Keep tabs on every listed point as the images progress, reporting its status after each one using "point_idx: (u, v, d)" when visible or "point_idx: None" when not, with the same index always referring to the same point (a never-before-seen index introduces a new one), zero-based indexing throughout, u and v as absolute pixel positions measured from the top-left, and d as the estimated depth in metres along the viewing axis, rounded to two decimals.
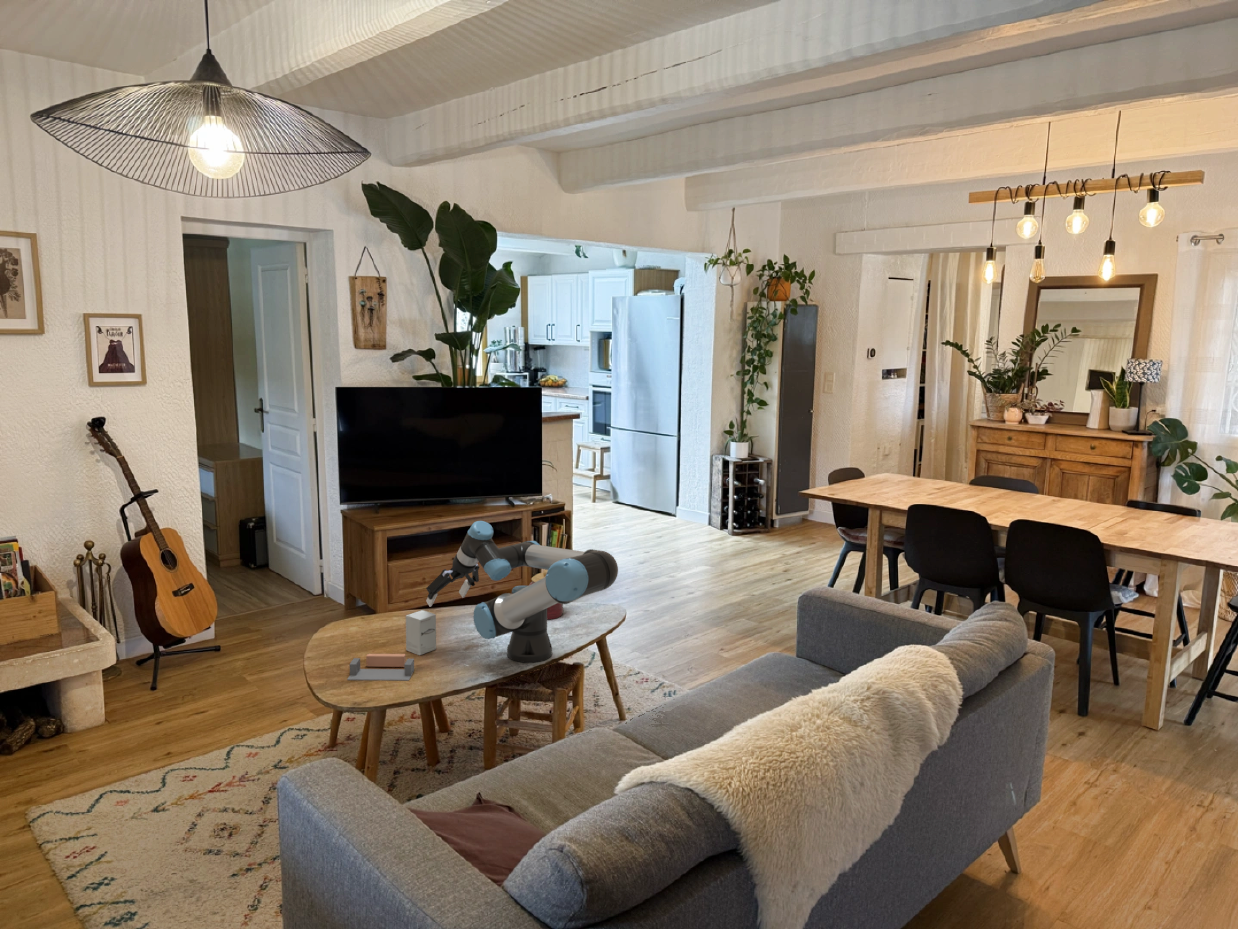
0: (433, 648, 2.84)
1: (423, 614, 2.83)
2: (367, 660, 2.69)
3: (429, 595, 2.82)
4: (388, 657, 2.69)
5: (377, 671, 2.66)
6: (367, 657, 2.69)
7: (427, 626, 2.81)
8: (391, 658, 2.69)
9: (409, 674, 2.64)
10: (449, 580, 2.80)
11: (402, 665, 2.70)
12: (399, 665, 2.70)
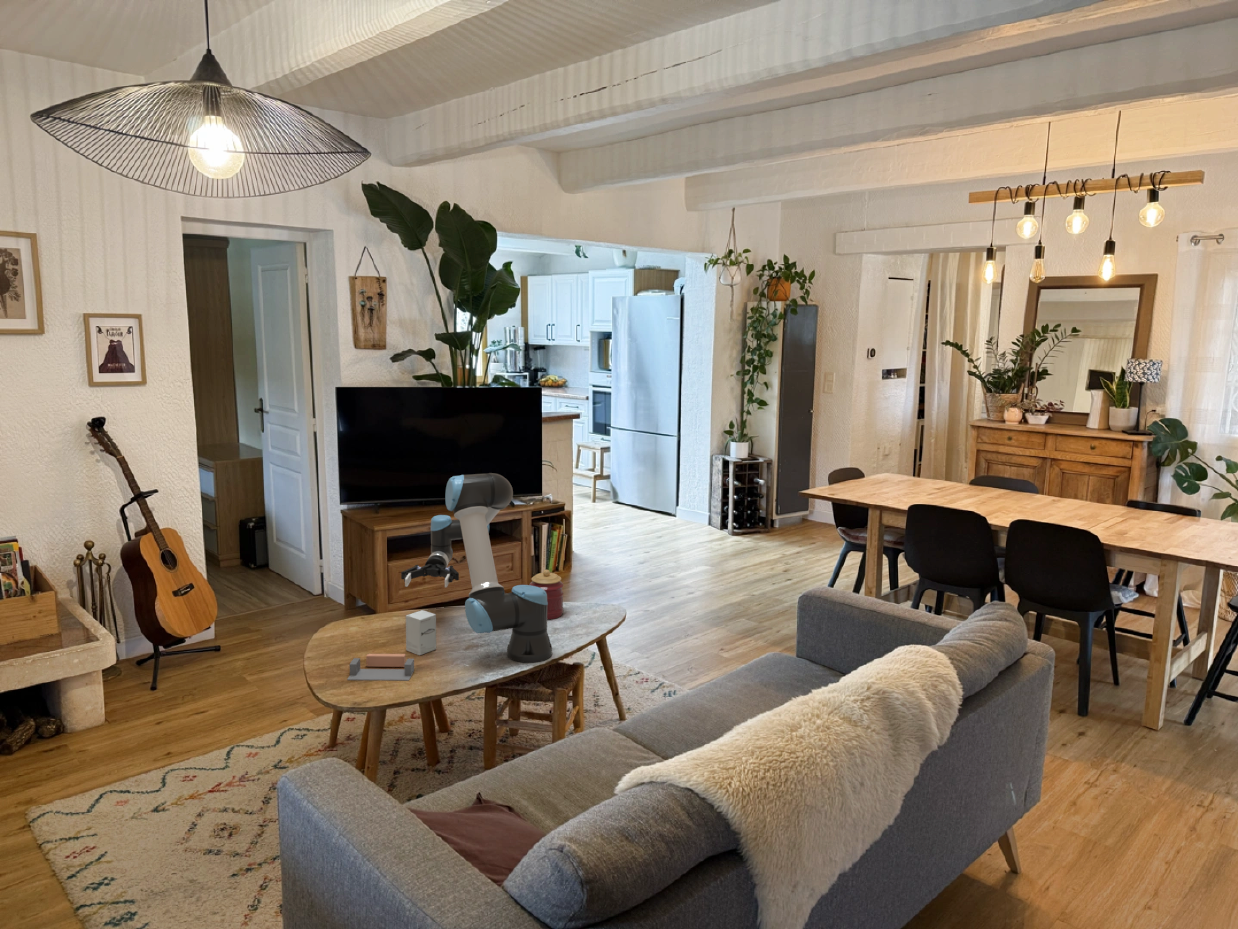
0: (433, 648, 2.84)
1: (423, 614, 2.83)
2: (367, 660, 2.69)
3: None
4: (388, 657, 2.69)
5: (377, 671, 2.66)
6: (367, 657, 2.69)
7: (427, 626, 2.81)
8: (391, 658, 2.69)
9: (409, 674, 2.64)
10: None
11: (402, 665, 2.70)
12: (399, 665, 2.70)
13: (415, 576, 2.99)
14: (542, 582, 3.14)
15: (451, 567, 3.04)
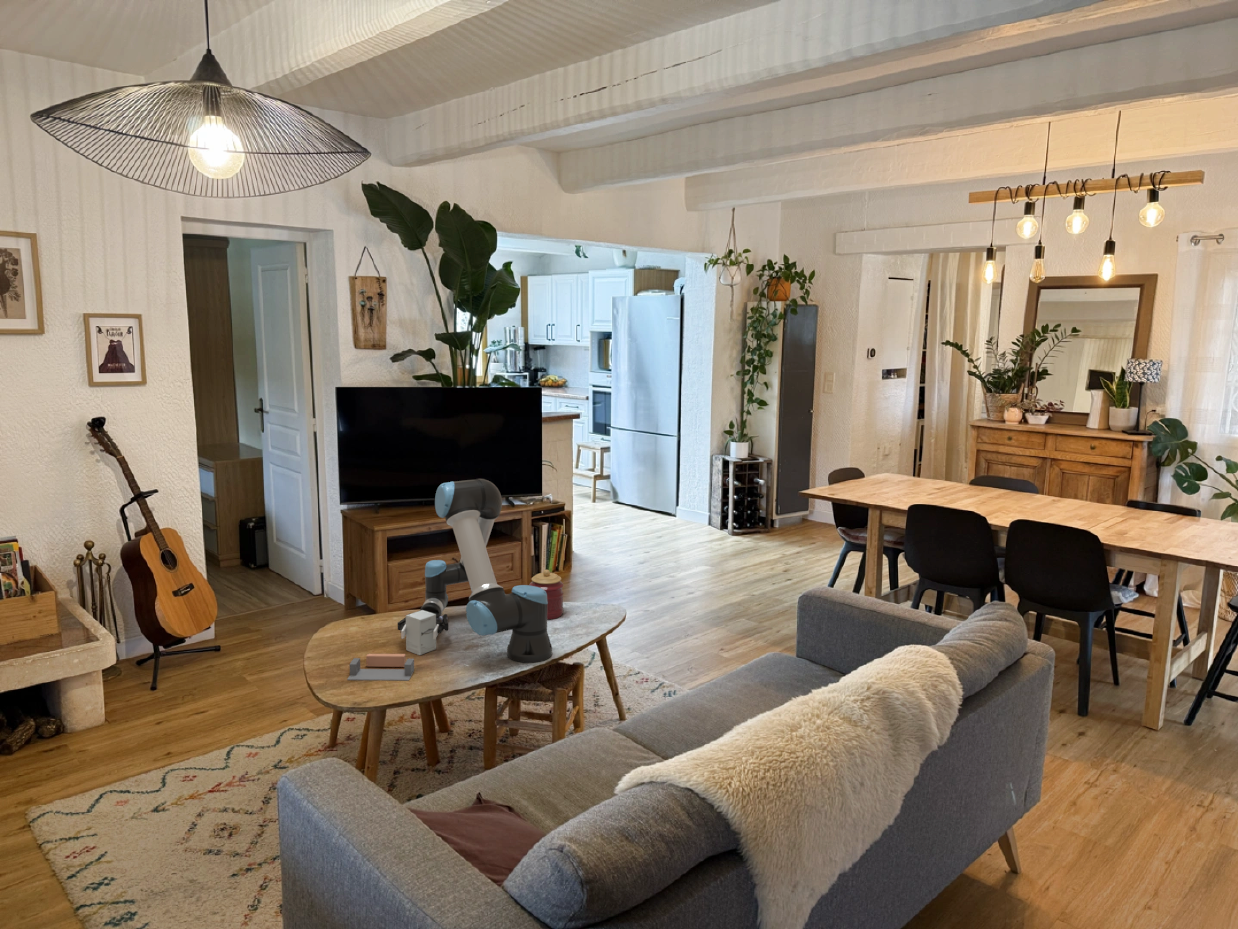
0: (433, 648, 2.84)
1: (423, 614, 2.83)
2: (367, 660, 2.69)
3: None
4: (388, 657, 2.69)
5: (377, 671, 2.66)
6: (367, 657, 2.69)
7: (427, 625, 2.81)
8: (391, 658, 2.69)
9: (409, 674, 2.64)
10: None
11: (402, 665, 2.70)
12: (399, 665, 2.70)
13: None
14: (542, 582, 3.14)
15: (444, 616, 2.94)
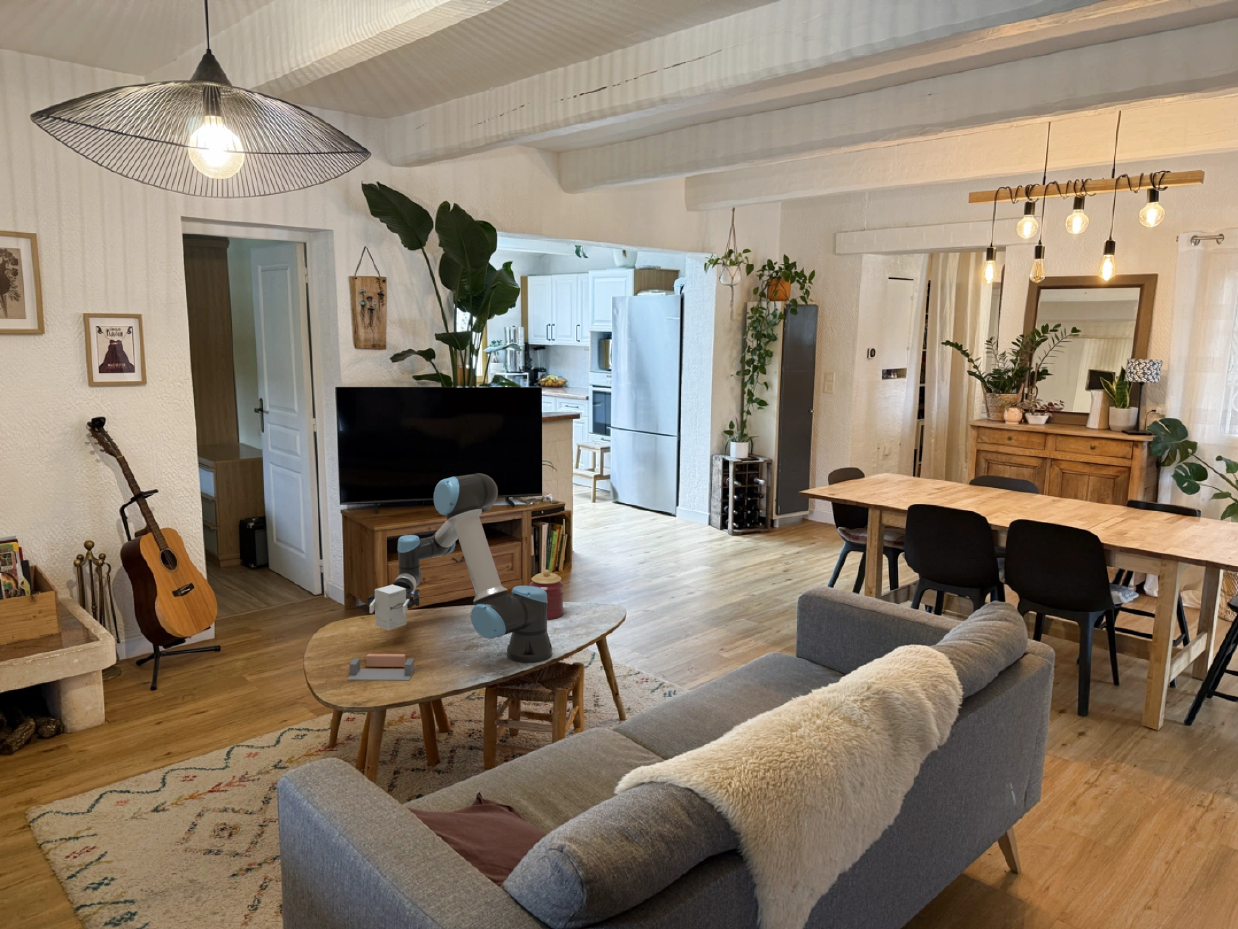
0: (403, 623, 2.76)
1: (392, 588, 2.75)
2: (367, 660, 2.69)
3: None
4: (388, 657, 2.69)
5: (377, 671, 2.66)
6: (367, 657, 2.69)
7: (396, 600, 2.73)
8: (391, 658, 2.69)
9: (409, 674, 2.64)
10: None
11: (402, 665, 2.70)
12: (399, 665, 2.70)
13: None
14: (542, 582, 3.14)
15: (416, 591, 2.86)
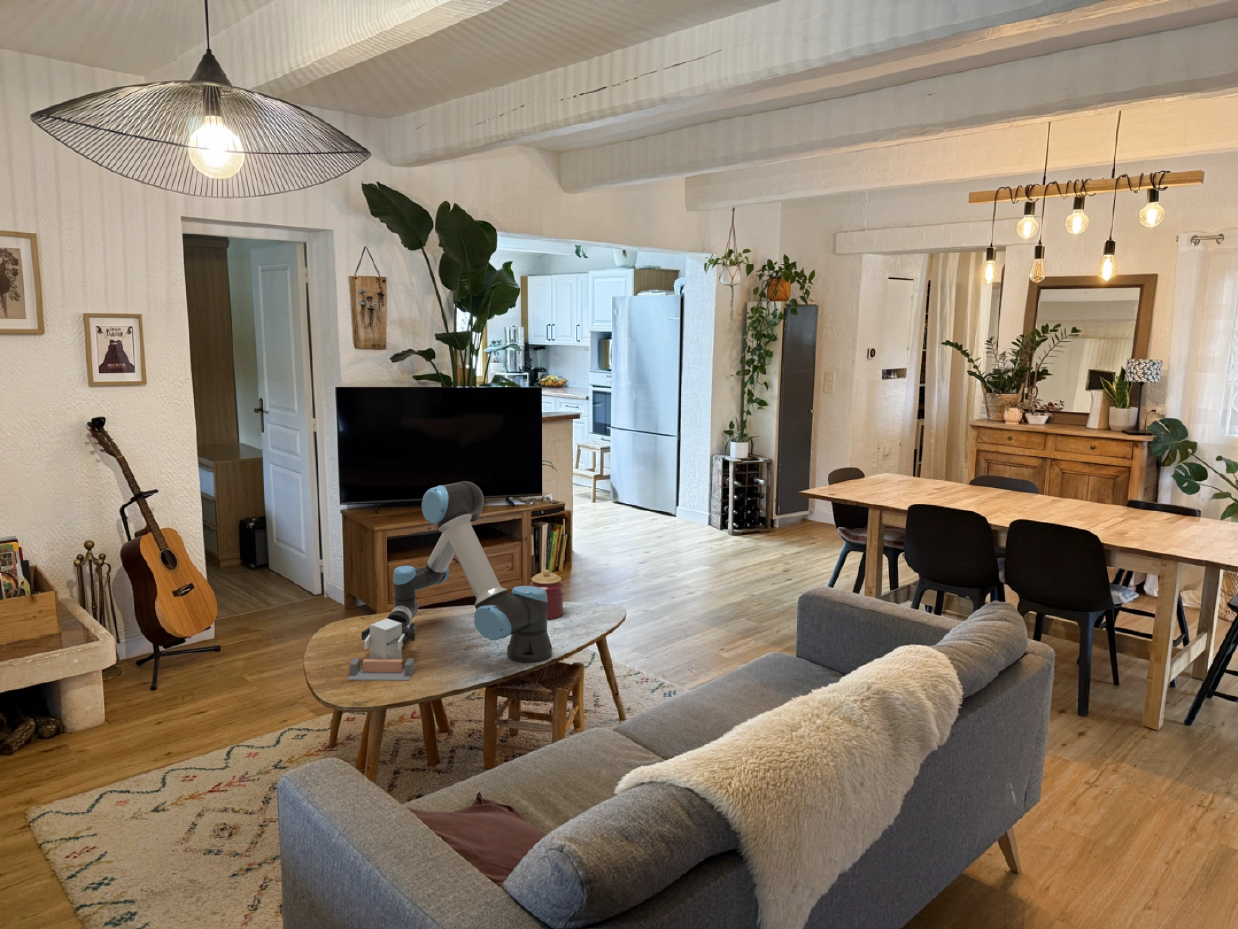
0: (399, 658, 2.72)
1: (388, 623, 2.70)
2: (363, 665, 2.65)
3: None
4: (385, 663, 2.65)
5: None
6: (363, 662, 2.65)
7: (393, 635, 2.68)
8: (388, 664, 2.65)
9: (409, 674, 2.64)
10: None
11: (399, 671, 2.66)
12: (396, 671, 2.66)
13: None
14: (542, 582, 3.14)
15: (412, 625, 2.81)
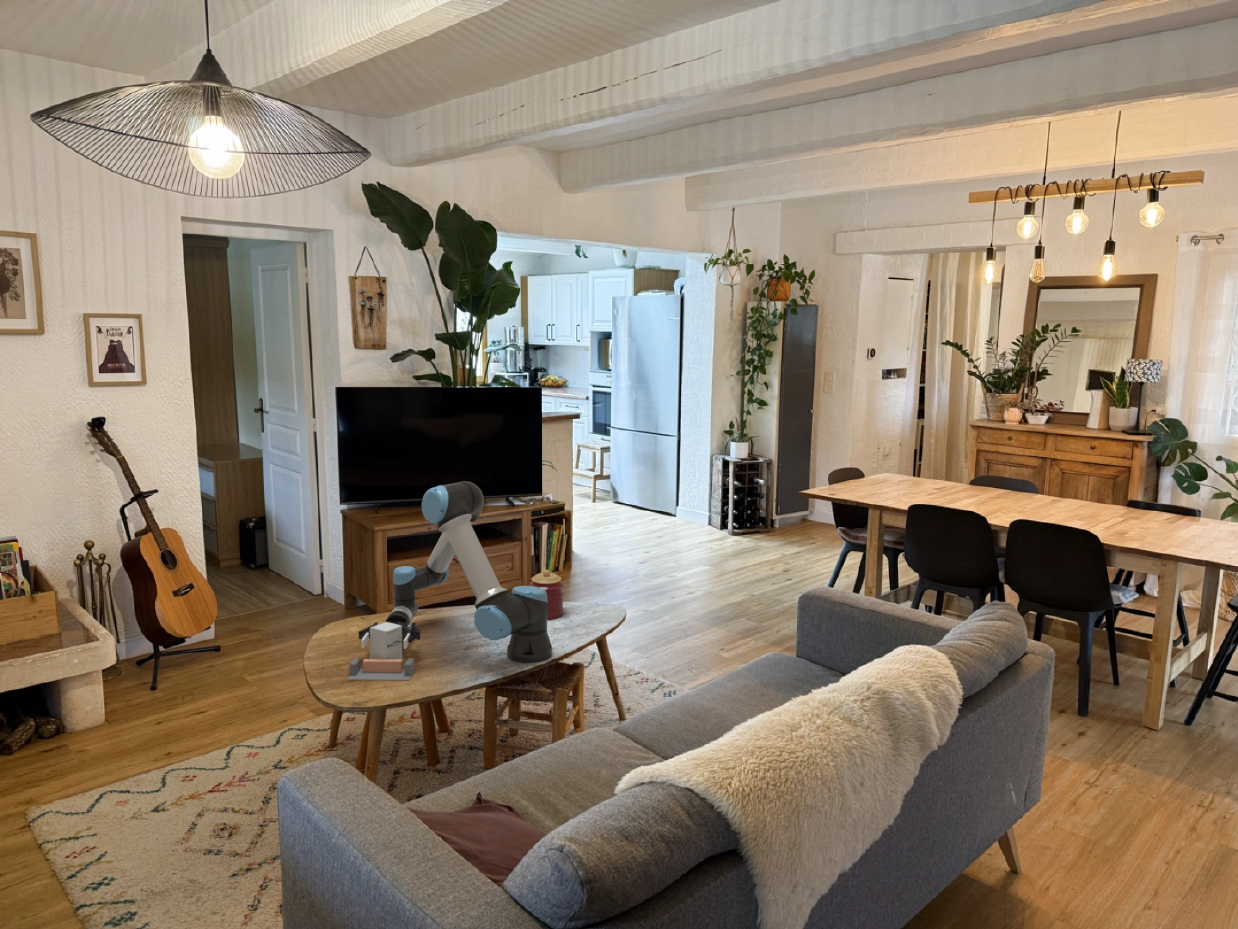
0: None
1: (388, 626, 2.71)
2: (363, 665, 2.65)
3: None
4: (385, 663, 2.65)
5: None
6: (363, 662, 2.65)
7: (393, 637, 2.69)
8: (388, 664, 2.65)
9: (409, 674, 2.64)
10: None
11: (399, 670, 2.66)
12: (396, 670, 2.66)
13: None
14: (542, 582, 3.14)
15: (413, 625, 2.81)
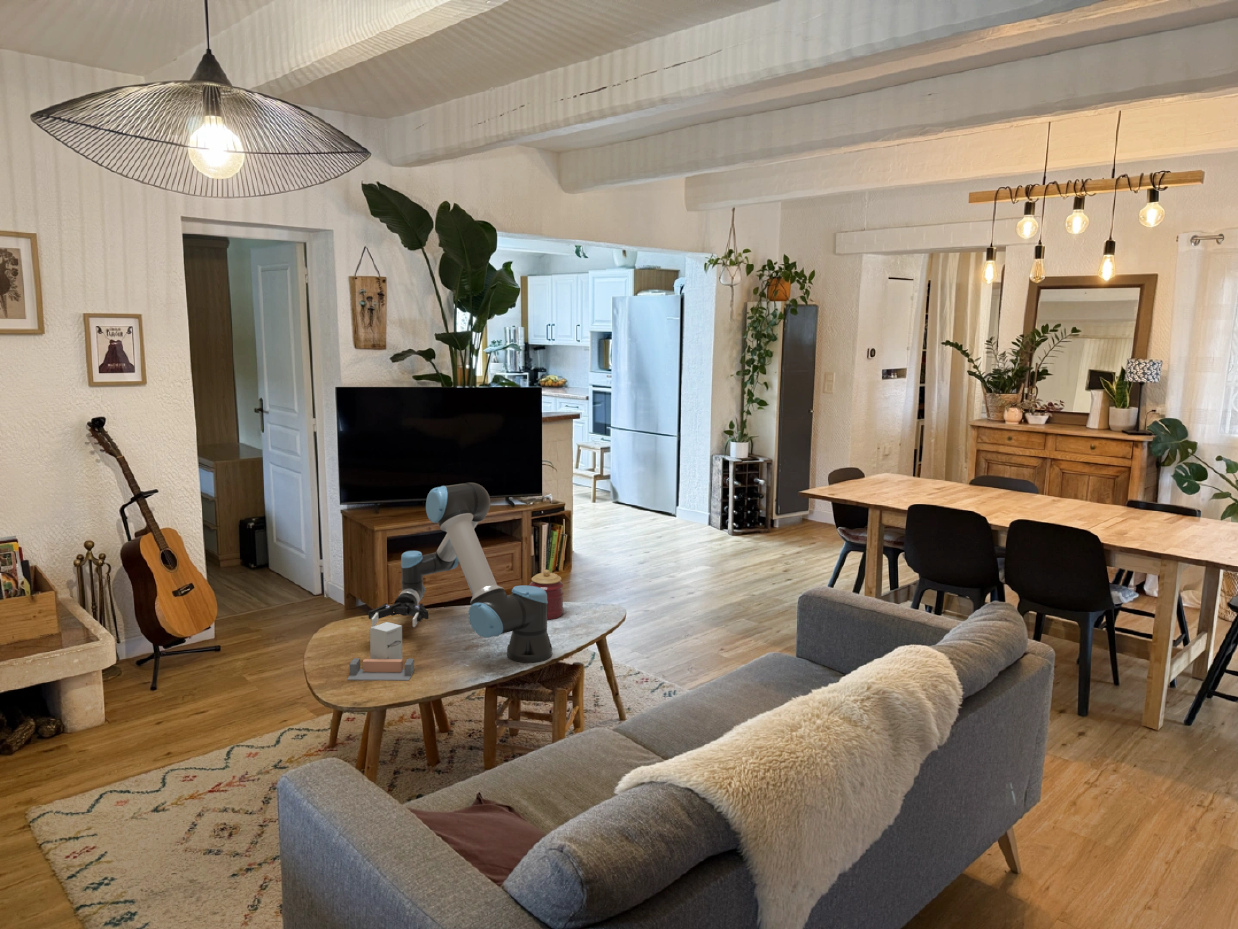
0: None
1: (388, 626, 2.71)
2: (363, 665, 2.65)
3: None
4: (385, 663, 2.65)
5: None
6: (363, 662, 2.65)
7: (393, 637, 2.69)
8: (388, 664, 2.65)
9: (409, 674, 2.64)
10: None
11: (399, 670, 2.66)
12: (396, 670, 2.66)
13: (383, 615, 2.88)
14: (542, 582, 3.14)
15: (421, 605, 2.93)
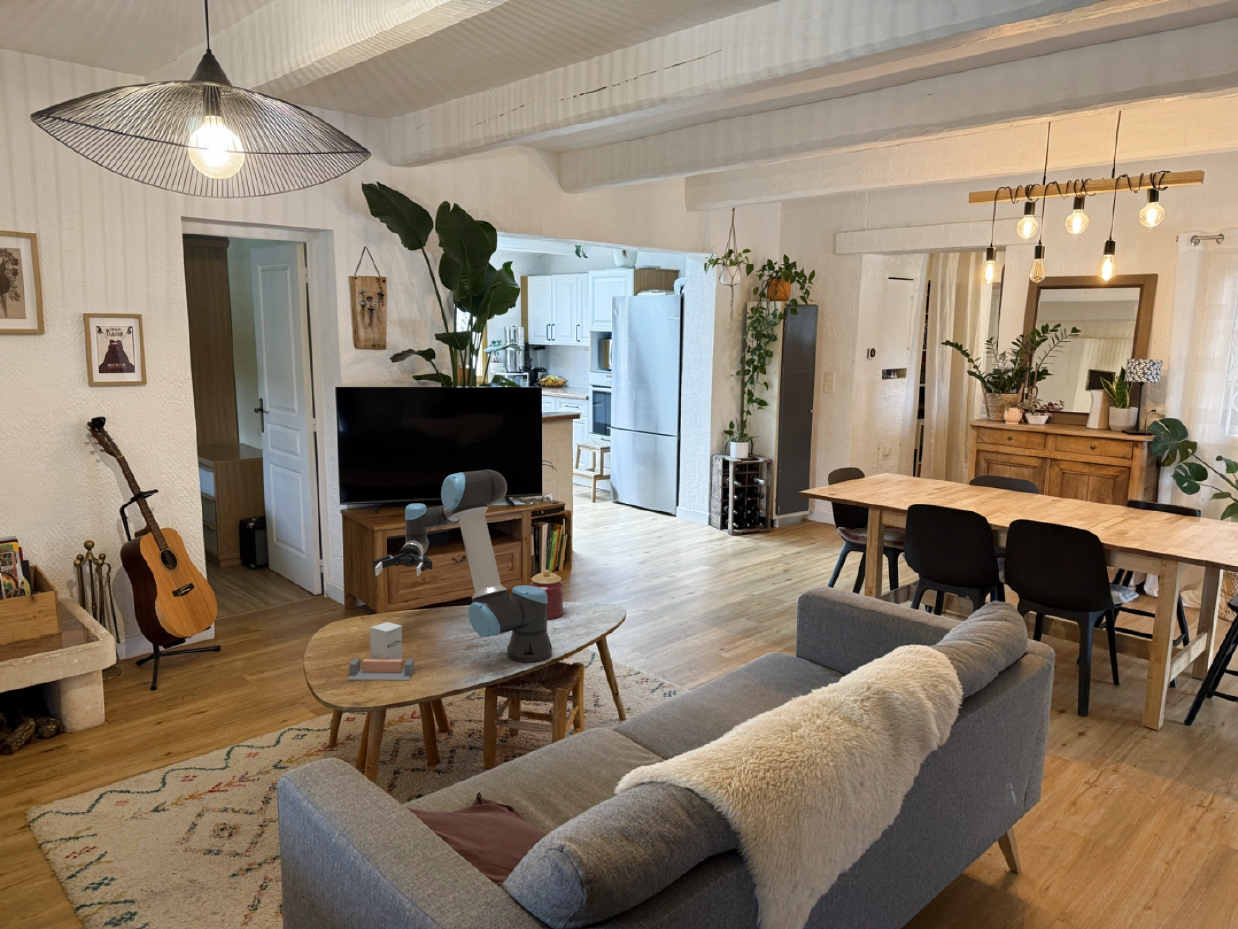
0: None
1: (388, 626, 2.71)
2: (363, 665, 2.65)
3: None
4: (385, 663, 2.65)
5: None
6: (363, 662, 2.65)
7: (393, 637, 2.69)
8: (388, 664, 2.65)
9: (409, 674, 2.64)
10: None
11: (399, 670, 2.66)
12: (396, 670, 2.66)
13: (387, 565, 2.87)
14: (542, 582, 3.14)
15: (425, 556, 2.92)
